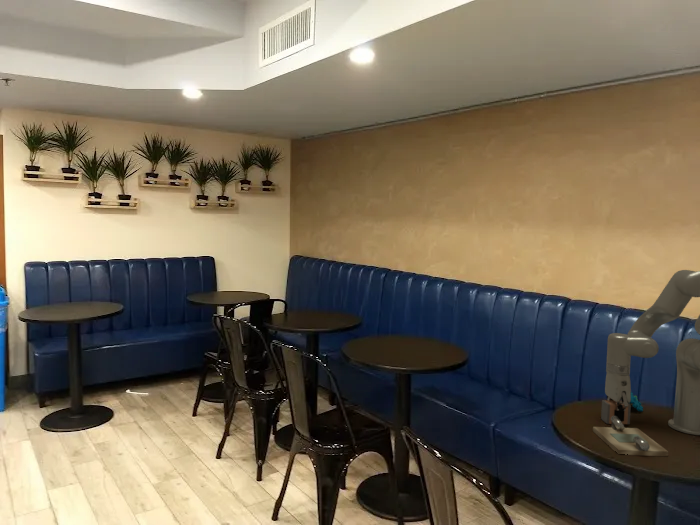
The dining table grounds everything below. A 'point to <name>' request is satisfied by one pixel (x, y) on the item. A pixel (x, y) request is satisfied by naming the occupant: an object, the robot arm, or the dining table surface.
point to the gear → (636, 402)
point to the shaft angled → (617, 423)
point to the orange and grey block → (609, 410)
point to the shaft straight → (641, 443)
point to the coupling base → (628, 441)
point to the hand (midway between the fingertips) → (615, 417)
